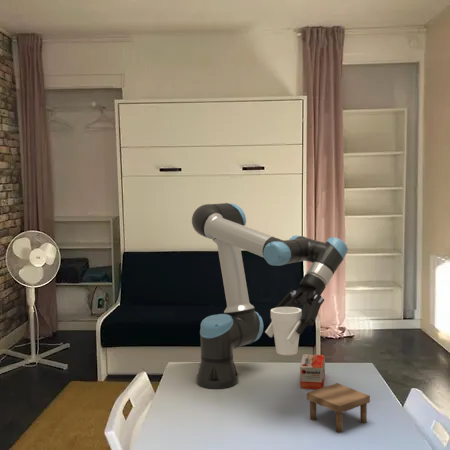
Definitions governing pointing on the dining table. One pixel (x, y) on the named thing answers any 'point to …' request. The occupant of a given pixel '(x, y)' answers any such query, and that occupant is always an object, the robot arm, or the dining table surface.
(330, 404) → the stool
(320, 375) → the medicine box
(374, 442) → the dining table surface
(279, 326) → the foam cup
